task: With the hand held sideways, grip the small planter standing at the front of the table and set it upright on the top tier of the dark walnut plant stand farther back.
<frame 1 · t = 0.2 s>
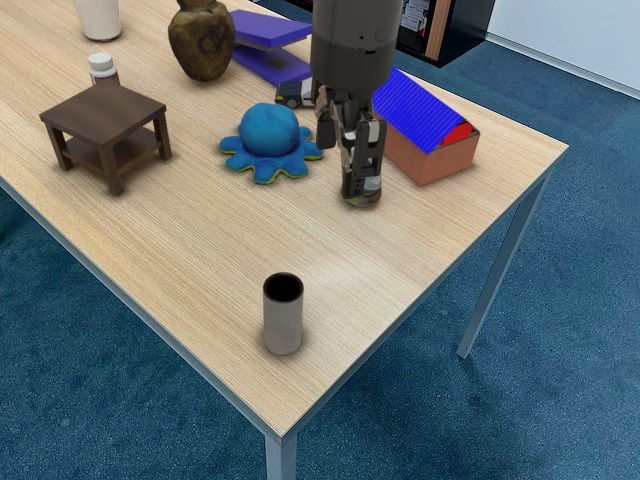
hand: (337, 170, 59), 20 cm above the table, tool pointing down, fingers open, 8 cm apart
stapler: (256, 55, 118), on the table
pill bottle: (110, 100, 103), on the table
plush toy: (271, 152, 94), on the table
house: (410, 146, 98), on the table
toy car: (317, 104, 106), on the table
sculpture: (206, 81, 109), on the table
cup: (103, 36, 120), on the table
planter: (282, 340, 67), on the table
beverage can: (357, 198, 87), on the table
plant stand: (117, 162, 90), on the table
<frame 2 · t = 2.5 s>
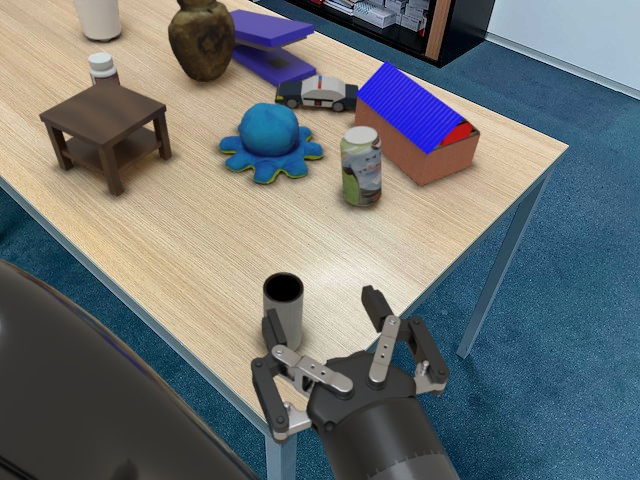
hand: (318, 303, 46), 20 cm above the table, tool horizontal, fingers open, 8 cm apart
nothing on the table moved.
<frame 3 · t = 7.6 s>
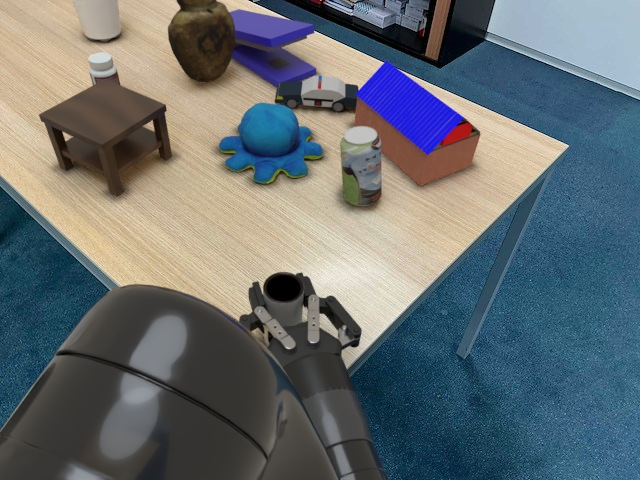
hand: (277, 282, 63), 8 cm above the table, tool horizontal, fingers closed on planter, 4 cm apart
planter: (282, 340, 67), on the table, touching gripper
everything else where it was.
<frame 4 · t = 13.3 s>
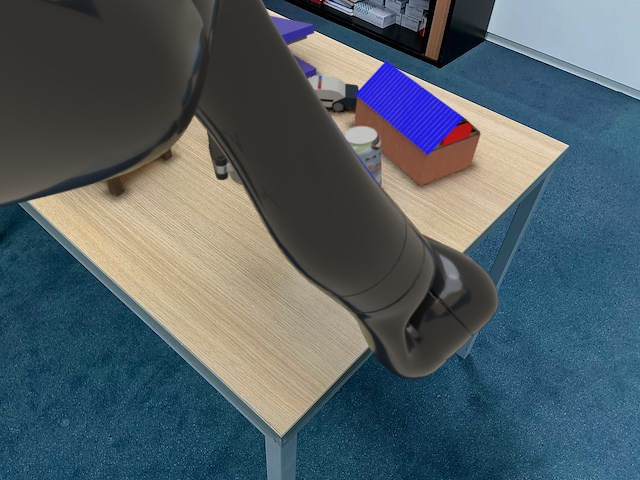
hand: (235, 104, 61), 23 cm above the table, tool horizontal, fingers closed on planter, 4 cm apart
planter: (249, 175, 65), point 15 cm above the table, touching gripper
everything else where it was.
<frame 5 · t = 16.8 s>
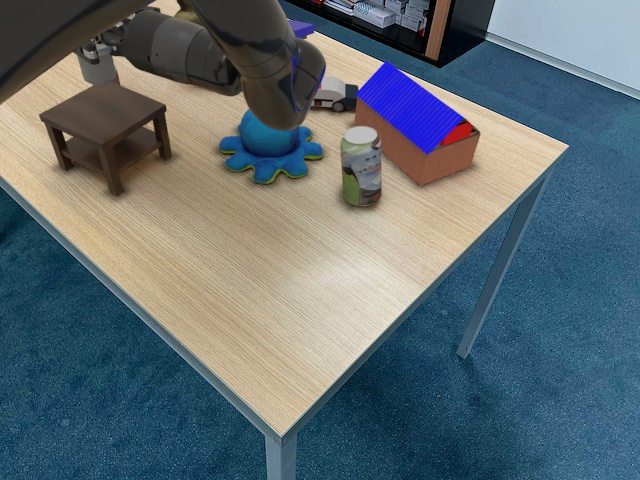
hand: (70, 17, 73), 24 cm above the table, tool horizontal, fingers closed on planter, 4 cm apart
planter: (100, 78, 78), point 15 cm above the table, touching gripper
everything else where it was.
when the fingers open (18 cm above the table, at t = 19.4 s): planter stays where it is, resting on plant stand.
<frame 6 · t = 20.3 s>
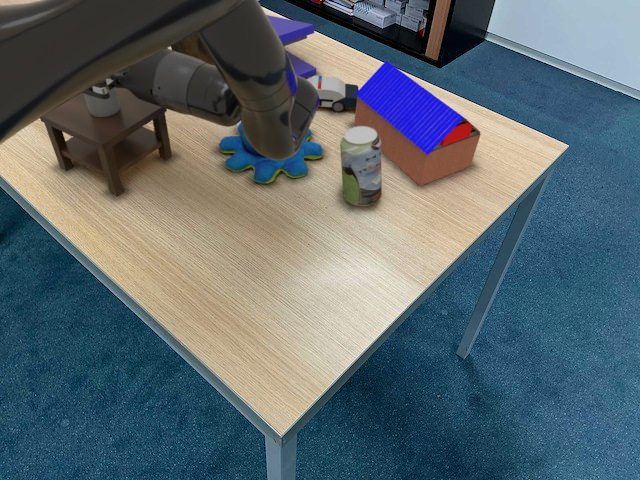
hand: (78, 49, 76), 19 cm above the table, tool horizontal, fingers open, 8 cm apart
planter: (105, 110, 82), point 10 cm above the table, touching plant stand
everything else where it was.
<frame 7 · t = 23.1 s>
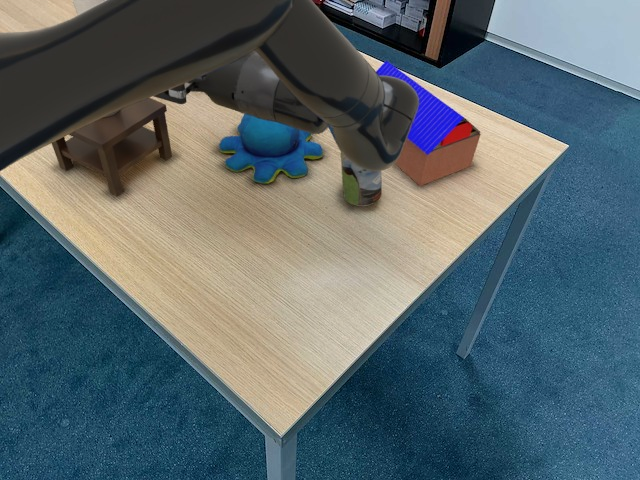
hand: (146, 50, 71), 22 cm above the table, tool horizontal, fingers open, 8 cm apart
nothing on the table moved.
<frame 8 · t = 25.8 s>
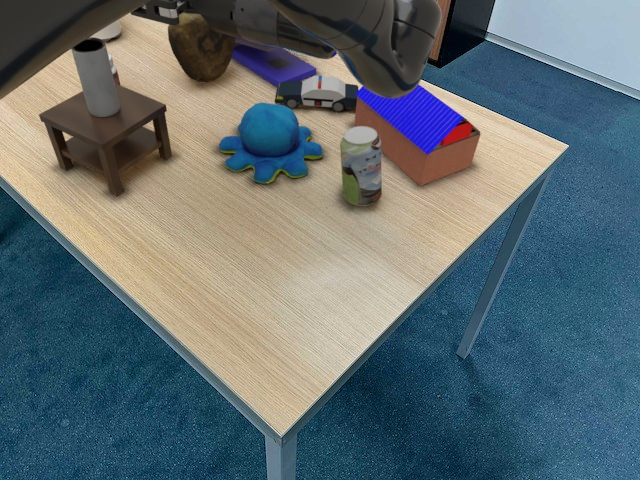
nothing on the table moved.
at the end: planter inside the target area on the plant stand (0.2 cm from its centre), point 9.8 cm above the plant stand's base; planter tilted 0°; the gripper is holding nothing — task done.
